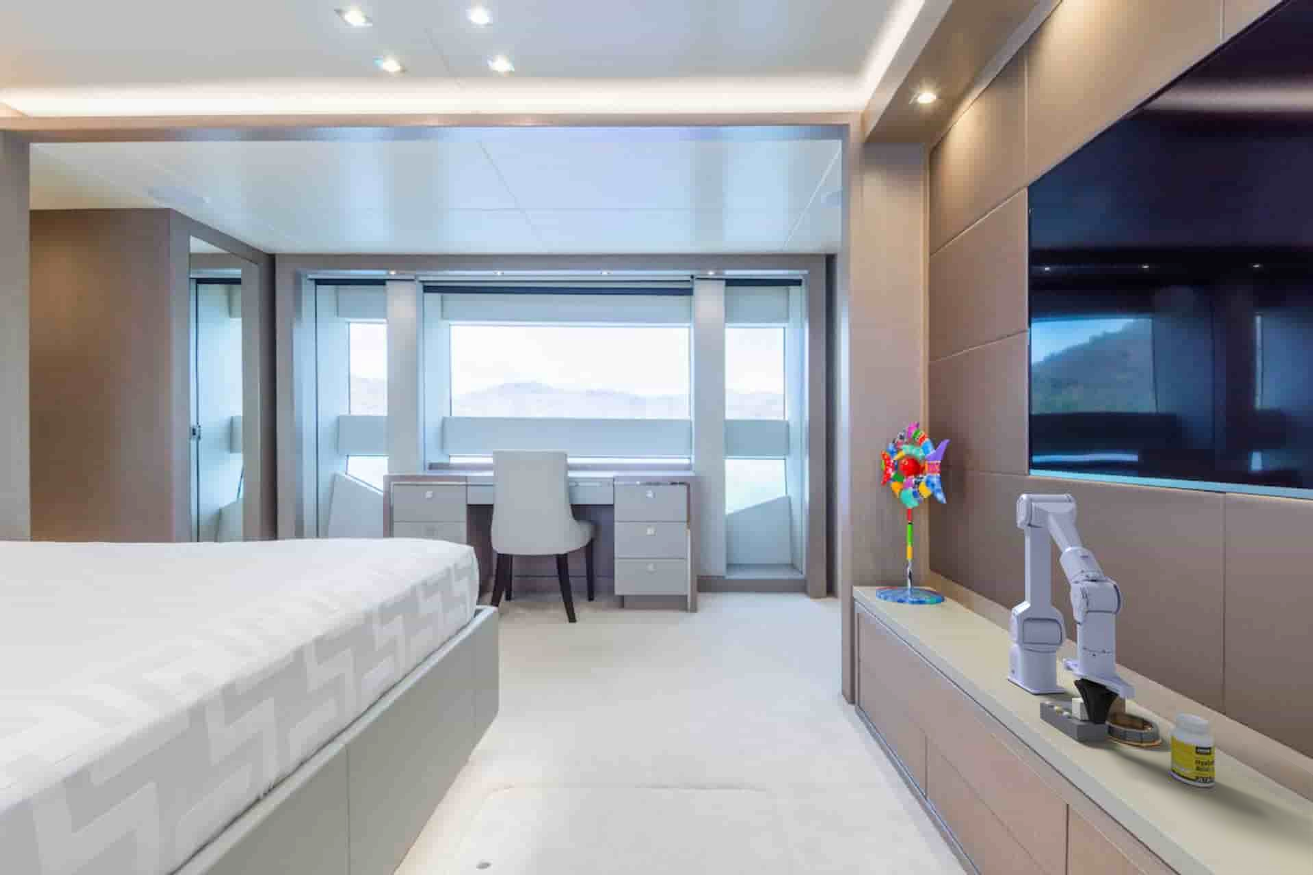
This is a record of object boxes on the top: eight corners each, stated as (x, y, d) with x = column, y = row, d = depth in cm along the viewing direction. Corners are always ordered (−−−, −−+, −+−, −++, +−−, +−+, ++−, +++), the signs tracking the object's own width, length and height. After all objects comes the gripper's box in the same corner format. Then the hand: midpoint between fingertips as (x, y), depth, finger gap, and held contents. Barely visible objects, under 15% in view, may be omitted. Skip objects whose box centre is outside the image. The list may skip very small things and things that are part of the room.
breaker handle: (1072, 715, 120) (1072, 698, 120) (1084, 714, 120) (1084, 697, 120) (1080, 719, 118) (1079, 702, 118) (1092, 719, 118) (1092, 701, 119)
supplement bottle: (1198, 790, 100) (1197, 727, 100) (1163, 773, 105) (1161, 713, 105) (1223, 785, 101) (1222, 723, 102) (1187, 768, 107) (1186, 709, 107)
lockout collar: (1082, 722, 124) (1082, 711, 124) (1131, 720, 125) (1130, 708, 125) (1123, 747, 114) (1123, 734, 114) (1176, 744, 115) (1176, 731, 115)
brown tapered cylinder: (1092, 710, 130) (1092, 685, 130) (1113, 709, 130) (1113, 685, 130) (1110, 720, 125) (1109, 694, 125) (1131, 719, 126) (1131, 693, 126)
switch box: (1040, 717, 127) (1040, 699, 127) (1069, 716, 127) (1068, 698, 127) (1077, 741, 117) (1076, 721, 117) (1108, 739, 117) (1107, 720, 117)
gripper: (1047, 636, 123) (1048, 706, 123) (1106, 662, 108) (1107, 742, 108) (1082, 634, 123) (1083, 705, 123) (1145, 660, 109) (1146, 740, 109)
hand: (1097, 722), depth 116 cm, fingers closed
